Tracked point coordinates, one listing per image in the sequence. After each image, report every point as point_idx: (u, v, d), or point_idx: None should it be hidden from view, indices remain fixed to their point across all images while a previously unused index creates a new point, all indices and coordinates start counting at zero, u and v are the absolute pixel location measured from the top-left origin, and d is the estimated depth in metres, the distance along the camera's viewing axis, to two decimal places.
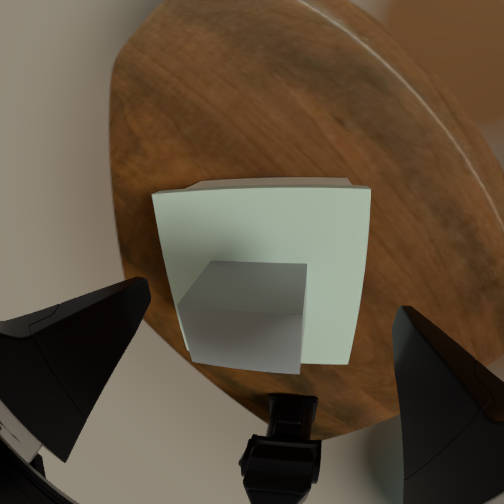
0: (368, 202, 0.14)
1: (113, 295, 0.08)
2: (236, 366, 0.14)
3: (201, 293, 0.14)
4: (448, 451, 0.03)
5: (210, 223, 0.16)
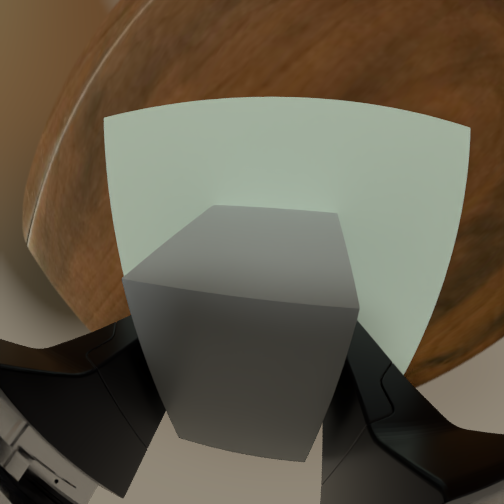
0: (117, 117, 0.08)
1: None
2: (314, 423, 0.05)
3: None
4: (345, 462, 0.04)
5: None
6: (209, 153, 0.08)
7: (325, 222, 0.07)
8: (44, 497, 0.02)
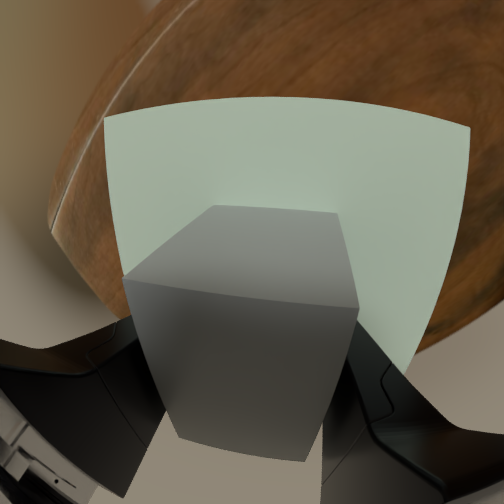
0: (117, 117, 0.08)
1: None
2: (314, 423, 0.05)
3: None
4: (345, 462, 0.04)
5: None
6: (209, 153, 0.08)
7: (325, 222, 0.07)
8: (44, 497, 0.02)
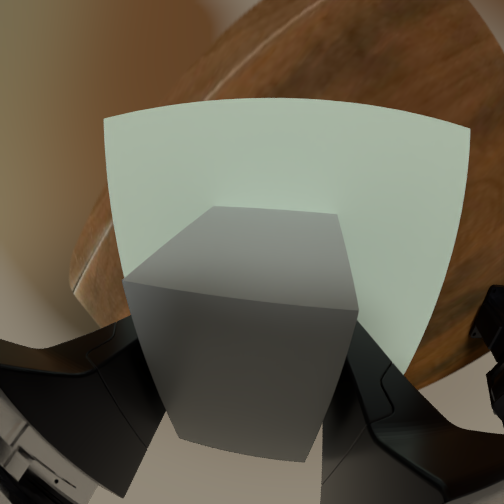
0: (117, 118, 0.08)
1: None
2: (314, 424, 0.05)
3: None
4: (345, 462, 0.04)
5: None
6: (209, 154, 0.08)
7: (325, 223, 0.07)
8: (44, 497, 0.02)
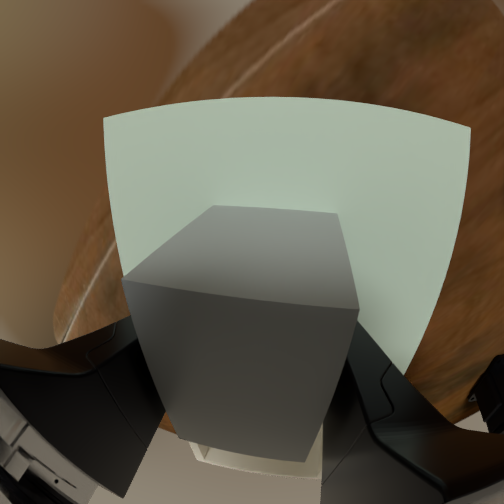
0: (117, 117, 0.08)
1: None
2: (314, 424, 0.05)
3: None
4: (345, 462, 0.04)
5: None
6: (209, 153, 0.08)
7: (325, 222, 0.07)
8: (44, 497, 0.02)
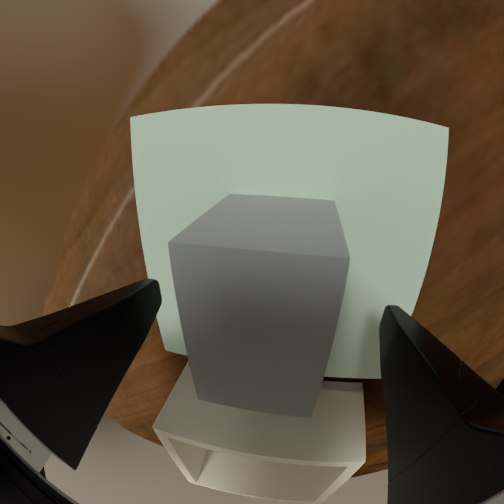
0: (144, 117, 0.10)
1: (125, 298, 0.08)
2: (319, 370, 0.07)
3: None
4: (430, 455, 0.03)
5: None
6: (227, 150, 0.10)
7: (324, 206, 0.09)
8: None
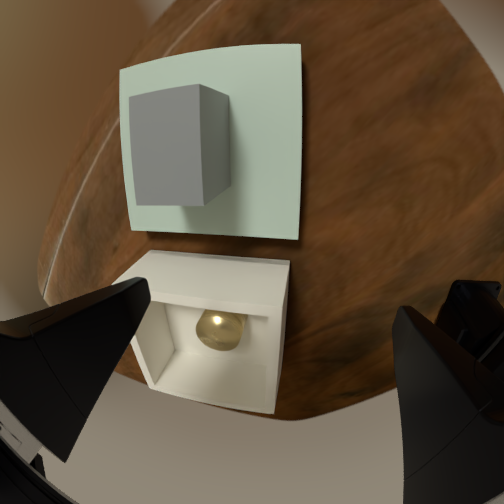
0: (127, 68, 0.15)
1: (113, 295, 0.08)
2: (197, 152, 0.12)
3: None
4: (448, 451, 0.03)
5: None
6: (170, 79, 0.15)
7: None
8: None
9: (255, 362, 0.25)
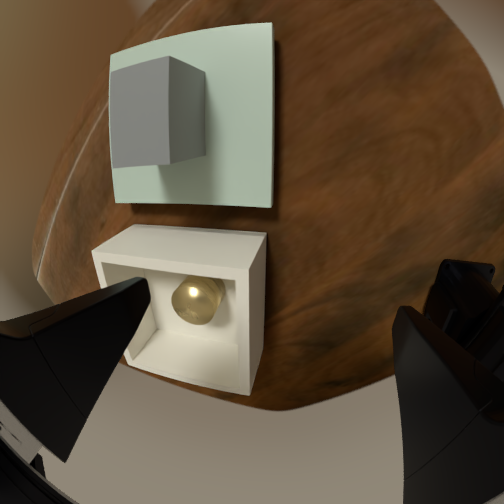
0: (117, 53, 0.15)
1: (113, 295, 0.08)
2: (165, 115, 0.12)
3: None
4: (448, 451, 0.03)
5: None
6: None
7: None
8: None
9: (235, 342, 0.25)
